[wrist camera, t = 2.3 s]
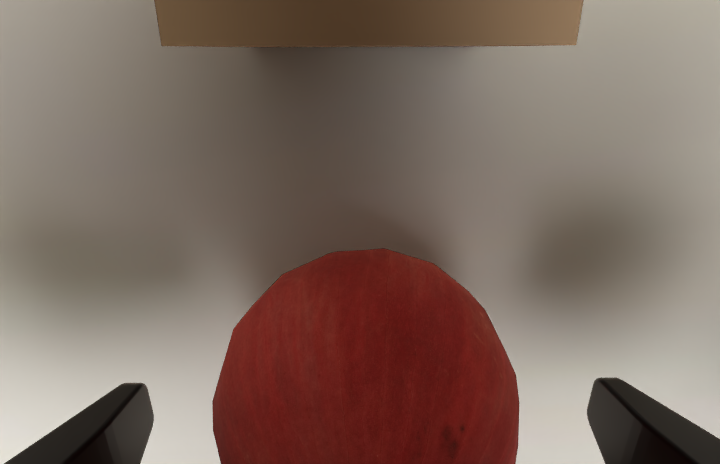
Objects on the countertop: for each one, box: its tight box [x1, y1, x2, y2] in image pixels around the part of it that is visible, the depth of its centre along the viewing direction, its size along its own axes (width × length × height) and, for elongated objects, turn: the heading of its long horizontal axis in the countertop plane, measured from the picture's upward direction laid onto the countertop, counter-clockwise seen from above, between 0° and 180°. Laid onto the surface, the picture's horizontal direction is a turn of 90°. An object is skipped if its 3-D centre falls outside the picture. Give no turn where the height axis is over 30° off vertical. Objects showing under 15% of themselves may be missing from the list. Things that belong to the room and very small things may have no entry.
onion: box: [213, 248, 519, 464], centre depth 9 cm, size 6×6×8 cm
